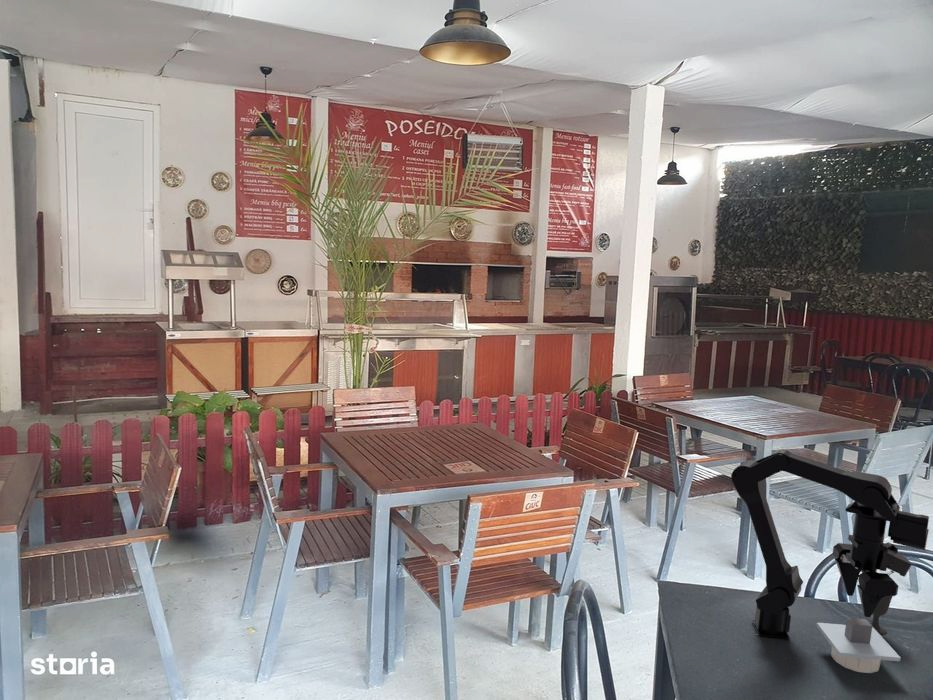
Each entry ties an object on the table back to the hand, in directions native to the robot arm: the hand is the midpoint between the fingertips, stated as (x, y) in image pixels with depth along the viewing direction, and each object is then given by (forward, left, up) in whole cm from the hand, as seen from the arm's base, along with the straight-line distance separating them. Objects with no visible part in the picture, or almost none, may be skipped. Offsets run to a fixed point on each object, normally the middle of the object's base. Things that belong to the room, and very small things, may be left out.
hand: (858, 605), depth 155 cm
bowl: (+1, -1, -12) cm, 12 cm away
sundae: (+11, +14, -12) cm, 21 cm away
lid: (0, -1, -8) cm, 8 cm away
